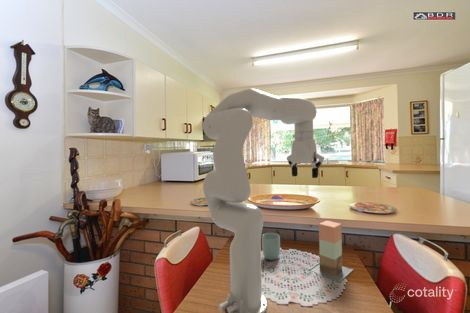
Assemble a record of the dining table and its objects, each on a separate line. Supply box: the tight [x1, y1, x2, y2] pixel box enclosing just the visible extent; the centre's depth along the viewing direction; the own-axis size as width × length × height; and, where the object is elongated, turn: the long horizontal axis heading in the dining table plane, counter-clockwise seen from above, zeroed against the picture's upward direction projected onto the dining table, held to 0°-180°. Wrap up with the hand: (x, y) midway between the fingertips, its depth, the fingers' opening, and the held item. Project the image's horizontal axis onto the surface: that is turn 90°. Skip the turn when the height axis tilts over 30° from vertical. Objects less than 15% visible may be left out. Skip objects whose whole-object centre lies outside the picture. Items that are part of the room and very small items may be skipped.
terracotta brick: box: [318, 220, 343, 244], centre depth 86 cm, size 6×6×6 cm
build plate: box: [308, 260, 354, 283], centre depth 86 cm, size 12×12×1 cm
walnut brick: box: [319, 254, 343, 276], centre depth 86 cm, size 6×6×6 cm
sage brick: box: [318, 238, 343, 260], centre depth 86 cm, size 6×6×6 cm
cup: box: [261, 232, 281, 261], centre depth 98 cm, size 8×8×10 cm
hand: (304, 176), depth 94 cm, fingers open, 9 cm apart
